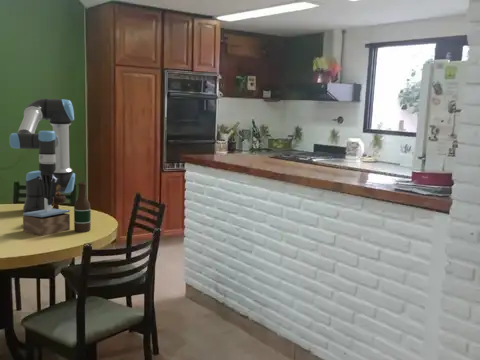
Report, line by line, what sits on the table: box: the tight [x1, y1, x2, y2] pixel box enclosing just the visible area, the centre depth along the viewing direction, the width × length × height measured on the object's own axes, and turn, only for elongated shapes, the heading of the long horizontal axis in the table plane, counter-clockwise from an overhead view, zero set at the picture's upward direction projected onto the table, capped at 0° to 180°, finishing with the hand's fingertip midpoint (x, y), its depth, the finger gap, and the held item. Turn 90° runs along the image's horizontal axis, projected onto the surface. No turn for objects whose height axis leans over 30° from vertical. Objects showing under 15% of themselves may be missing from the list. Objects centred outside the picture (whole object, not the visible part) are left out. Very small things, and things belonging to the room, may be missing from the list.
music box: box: [52, 185, 67, 209], centre depth 263 cm, size 15×11×20 cm
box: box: [22, 213, 71, 237], centre depth 244 cm, size 16×14×8 cm
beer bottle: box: [73, 181, 92, 233], centre depth 246 cm, size 8×8×24 cm
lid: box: [22, 208, 71, 217], centre depth 244 cm, size 16×14×1 cm
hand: (48, 211), depth 243 cm, fingers closed
